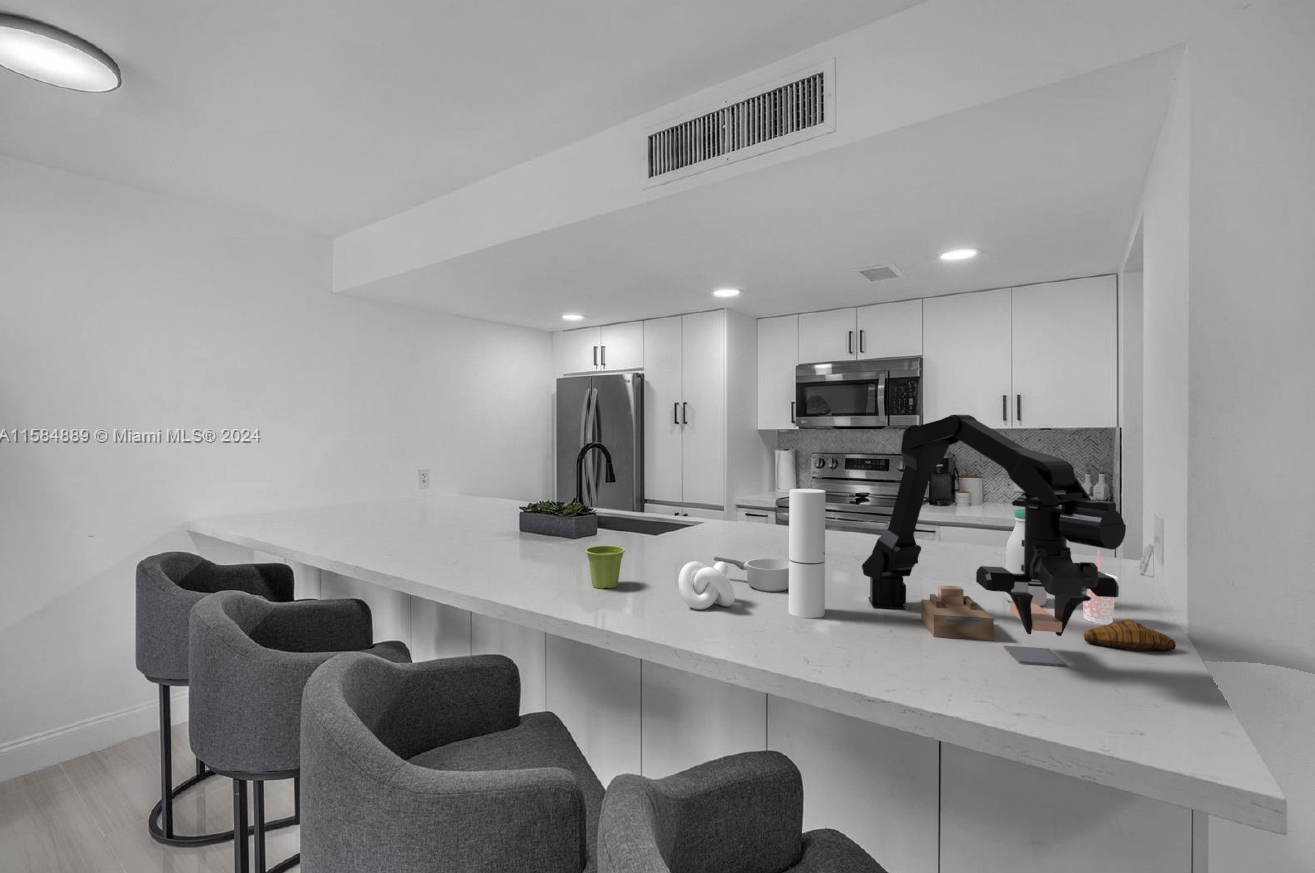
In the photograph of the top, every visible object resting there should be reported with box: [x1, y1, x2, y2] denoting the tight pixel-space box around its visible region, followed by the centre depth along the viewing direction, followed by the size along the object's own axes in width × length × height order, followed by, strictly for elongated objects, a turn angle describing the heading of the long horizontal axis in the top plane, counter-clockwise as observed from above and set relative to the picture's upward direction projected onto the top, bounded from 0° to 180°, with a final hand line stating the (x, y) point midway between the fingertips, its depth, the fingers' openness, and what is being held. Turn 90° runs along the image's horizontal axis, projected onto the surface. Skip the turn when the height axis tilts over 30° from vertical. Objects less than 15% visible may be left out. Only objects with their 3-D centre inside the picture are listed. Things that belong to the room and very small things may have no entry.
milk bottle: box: [1004, 508, 1048, 607], centre depth 132 cm, size 8×8×20 cm
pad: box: [1003, 645, 1069, 667], centre depth 102 cm, size 7×7×1 cm
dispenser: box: [920, 584, 995, 641], centre depth 115 cm, size 10×10×7 cm
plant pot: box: [585, 545, 626, 590], centre depth 146 cm, size 9×9×9 cm
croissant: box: [1083, 618, 1177, 652], centre depth 106 cm, size 14×7×5 cm, turn 75°
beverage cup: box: [1082, 549, 1119, 625], centre depth 120 cm, size 6×6×14 cm
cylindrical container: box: [788, 488, 826, 619], centre depth 125 cm, size 7×7×25 cm
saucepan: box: [713, 556, 789, 593], centre depth 147 cm, size 12×20×6 cm, turn 60°
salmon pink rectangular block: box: [1009, 602, 1062, 633], centre depth 101 cm, size 4×10×2 cm, turn 169°
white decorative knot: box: [678, 560, 736, 611], centre depth 130 cm, size 11×12×9 cm
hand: (1043, 634), depth 98 cm, fingers closed on salmon pink rectangular block, 4 cm apart
